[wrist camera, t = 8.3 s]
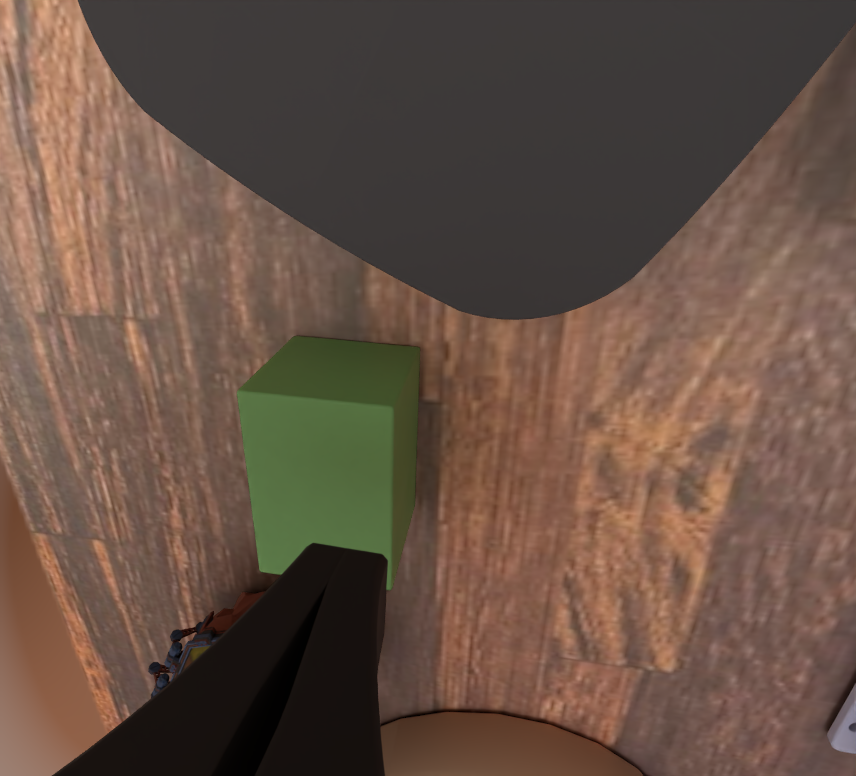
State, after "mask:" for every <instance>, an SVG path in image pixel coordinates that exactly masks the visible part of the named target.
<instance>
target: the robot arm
mask: <svg viewBox="0 0 856 776" xmlns="http://www.w3.org/2000/svg"><path fill="white" fill-rule="evenodd" d="M387 571H388V560H387V559H386V558H385V556H384V555H383V554H380V553H374V552H368V551H362V550H355V549H349V548H343V547H337V546H331V545H325V544H319V543H311V544H310V545H308V546H307V547H306V548H305V549H304V550H303V551H302V552H301V554H300V555H299V556H298V557H297V558H296V559H295V560H294V561H293V562H292V564H291V565H290V566H289V567H288V568H287V569H286V570H285V571H284V572H283V573H282V575H281V576H280V577H279V578H278V579H277V580H276V581H275V582H274V583H273V584H272V585H271V586H270V587H269V588H268V589H267V590H266V591H265V593H264V594H263V595H262V596H261V597H260V598H259V599H258V600H257V601H256V602H255V603H254V604H253V605H252V606H251V607H250V608H249V609H248V610H247V611H246V612H245V613H244V614H243V615H242V616H241V617H240V618H239V619H238V620H237V621H236V622H235V623H234V624H233V625H232V626H231V627H230V628H229V629H228V630H227V631H226V632H224V633H223V634H222V635H221V636H220V637H219V638H218V639H217V640H216V641H215V642H214V643H213V644H212V645H211V646H210V647H209V648H208V649H207V650H205V651H204V652H203V653H202V654H201V655H200V656H199V657H198V658H197V659H195V660H194V661H193V662H192V663H191V664H190V665H189V666H188V667H187V668H185V669H184V670H183V671H182V672H181V673H180V674H179V675H178V676H177V677H175V678H174V679H173V680H172V681H171V682H170V683H169V684H168V685H167V686H165V687H164V688H163V689H162V690H161V691H160V692H158V693H157V694H156V695H155V696H154V697H152V698H151V699H150V700H149V701H148V702H146V703H145V704H144V705H143V706H142V707H141V708H139V709H138V710H137V711H136V712H134V713H133V714H132V715H131V716H130V717H128V718H127V719H126V720H125V721H123V722H122V723H121V724H120V725H118V726H117V727H116V728H114V729H113V730H112V731H111V732H109V733H108V734H107V735H106V736H104V737H103V738H102V739H101V740H99V741H98V742H97V743H95V744H94V745H93V746H91V747H90V748H89V749H88V750H86V751H85V752H84V753H82V754H81V755H80V756H78V757H77V758H75V759H74V760H73V761H72V762H70V763H69V764H67V765H66V766H65V767H63V768H62V769H60V770H59V771H58V772H57V773H55V774H54V775H52V776H385V771H384V761H383V751H382V741H381V729H380V716H379V702H378V682H377V673H378V665H379V659H380V653H381V648H382V642H383V637H384V625H385V607H386V589H387ZM827 737H828V739H829V741H830V743H831V745H832V747H833V748H834V749H836V750H838V751H842V752H847V753H853V754H856V683H855V685H854V687H853V689H852V691H851V692H850V694H849V696H848V698H847V699H846V701H845V703H844V705H843V706H842V708H841V710H840V712H839V713H838V715H837V717H836V719H835V720H834V722H833V724H832V726H831V728H830V729H829V731H828V733H827Z"/></svg>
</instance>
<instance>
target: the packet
mask: <svg viewBox="0 0 856 776" xmlns="http://www.w3.org/2000/svg"><path fill="white" fill-rule="evenodd" d="M419 368H420V348H419V347H412V346H401V345H390V344H379V343H368V342H357V341H346V340H335V339H324V338H313V337H302V336H294V337H292V338H291V339H290V340H289V341H288V342H287V343H286V344H285V345H284V346H283V347H282V348H281V349H280V350H279V351H278V352H277V353H276V354H275V355H274V356H273V357H272V358H271V359H270V360H269V361H268V362H267V363H266V364H264V365H263V366H262V367H261V368H260V369H259V370H258V371H257V372H256V373H255V374H254V375H253V376H252V377H251V378H250V379H249V380H248V381H247V382H246V383H245V384H244V385H243V386H242V387H241V388H240V389H239V390H238V391H237V398H238V406H239V413H240V421H241V429H242V437H243V445H244V453H245V460H246V468H247V476H248V484H249V492H250V500H251V507H252V515H253V523H254V531H255V539H256V547H257V554H258V562H259V570H260V571H261V572H264V573H271V574H278V575H282V573H283V572H284V571H285V570H286V569H287V568H288V567H289V566H290V565H291V564H292V562H293V561H294V560H295V559H296V558H297V557H298V556H299V555H300V554H301V552H302V551H303V550H304V549H305V548H306V547H307V546H308V545H310V544H311V543H319V544H325V545H331V546H337V547H343V548H349V549H355V550H362V551H368V552H374V553H380V554H383V555H384V556H385V558H386V559H387V560H388V571H387V589H386V590H391V589H392V588H393V584H394V580H395V576H396V573H397V569H398V565H399V562H400V558H401V554H402V551H403V547H404V543H405V540H406V536H407V532H408V529H409V525H410V521H411V518H412V514H413V510H414V507H415V488H416V458H417V428H418V398H419Z"/></svg>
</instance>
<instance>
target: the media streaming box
mask: <svg viewBox="0 0 856 776" xmlns="http://www.w3.org/2000/svg"><path fill="white" fill-rule="evenodd" d="M78 2H79V5H80V7H81V10H82V13H83V15H84V18H85V20H86V22H87V24H88V27H89V29H90V31H91V33H92V35H93V38H94V39H95V41H96V43H97V45H98V47H99V49H100V51H101V53H102V55H103V56H104V58H105V60H106V61H107V63H108V65H109V66H110V68H111V70H112V71H113V73H114V74H115V75H116V77H117V78H118V80H119V81H120V83H121V84H122V86H123V87H124V88H125V89H126V91H127V92H128V93H129V94H130V96H131V97H132V98H133V99H134V100H135V101H136V103H137V104H138V105H139V106H140V107H141V108H142V109H143V110H144V111H145V112H146V113H147V114H148V115H150V116H151V117H152V118H154V119H155V120H156V121H157V122H159V123H160V124H161V125H162V126H164V127H165V128H166V129H168V130H169V131H170V132H171V133H173V134H174V135H175V136H177V137H178V138H179V139H181V140H182V141H183V142H185V143H186V144H187V145H189V146H190V147H191V148H193V149H194V150H195V151H197V152H198V153H199V154H201V155H202V156H204V157H205V158H206V159H208V160H209V161H210V162H212V163H213V164H214V165H216V166H217V167H219V168H220V169H222V170H223V171H224V172H226V173H227V174H229V175H230V176H231V177H233V178H234V179H236V180H237V181H239V182H240V183H242V184H243V185H244V186H246V187H247V188H249V189H250V190H252V191H253V192H255V193H256V194H258V195H259V196H261V197H262V198H264V199H265V200H267V201H268V202H270V203H271V204H273V205H274V206H276V207H277V208H279V209H280V210H282V211H283V212H285V213H287V214H288V215H290V216H291V217H293V218H294V219H296V220H298V221H299V222H301V223H302V224H304V225H305V226H307V227H309V228H310V229H312V230H314V231H315V232H317V233H318V234H320V235H322V236H323V237H325V238H327V239H328V240H330V241H332V242H333V243H335V244H337V245H338V246H340V247H342V248H343V249H345V250H347V251H349V252H350V253H352V254H354V255H355V256H357V257H359V258H361V259H362V260H364V261H366V262H367V263H369V264H371V265H373V266H375V267H376V268H378V269H380V270H382V271H384V272H385V273H387V274H389V275H391V276H393V277H395V278H396V279H398V280H400V281H402V282H404V283H406V284H408V285H410V286H411V287H413V288H415V289H417V290H419V291H421V292H423V293H425V294H427V295H429V296H431V297H433V298H435V299H437V300H439V301H441V302H443V303H445V304H447V305H449V306H451V307H453V308H455V309H457V310H459V311H462V312H465V313H469V314H472V315H477V316H482V317H487V318H496V319H513V320H519V319H534V318H541V317H548V316H552V315H556V314H561V313H564V312H567V311H571V310H574V309H577V308H579V307H582V306H584V305H587V304H589V303H592V302H594V301H596V300H598V299H600V298H602V297H604V296H606V295H607V294H609V293H611V292H612V291H614V290H616V289H617V288H619V287H621V286H622V285H623V284H625V283H626V282H627V281H629V280H630V279H632V278H633V277H634V276H635V275H636V274H637V273H638V272H639V271H640V270H641V269H642V268H643V267H644V266H645V265H646V264H647V263H648V262H649V261H650V260H651V259H652V258H653V257H654V256H655V255H656V254H657V253H658V252H659V251H660V250H661V249H662V248H663V247H664V246H665V245H666V243H667V242H668V241H669V240H670V239H671V238H672V237H673V236H674V235H675V234H676V233H677V232H678V231H679V230H680V229H681V228H682V227H683V226H684V224H685V223H686V222H687V221H688V220H689V219H690V218H691V217H692V216H693V215H694V214H695V213H696V212H697V211H698V209H699V208H700V207H701V206H702V205H703V204H704V203H705V202H706V201H707V200H708V198H709V197H710V196H711V195H712V194H713V193H714V192H715V191H716V190H717V188H718V187H719V186H720V185H721V184H722V183H723V182H724V181H725V180H726V178H727V177H728V176H729V175H730V174H731V173H732V172H733V170H734V169H735V168H736V167H737V166H738V165H739V164H740V162H741V161H742V160H743V159H744V158H745V157H746V156H747V155H748V153H749V152H750V151H751V150H752V149H753V148H754V146H755V145H756V144H757V143H758V142H759V141H760V139H761V138H762V137H763V136H764V135H765V133H766V132H767V131H768V130H769V129H770V128H771V126H772V125H773V124H774V123H775V122H776V121H777V119H778V118H779V117H780V116H781V115H782V113H783V112H784V111H785V110H786V108H787V107H788V106H789V105H790V104H791V102H792V101H793V100H794V99H795V98H796V96H797V95H798V94H799V93H800V92H801V90H802V89H803V88H804V87H805V85H806V84H807V83H808V82H809V80H810V79H811V78H812V77H813V76H814V74H815V73H816V72H817V71H818V69H819V68H820V67H821V66H822V64H823V63H824V62H825V61H826V59H827V58H828V57H829V56H830V54H831V53H832V52H833V51H834V49H835V48H836V47H837V46H838V44H839V43H840V42H841V41H842V39H843V38H844V37H845V35H846V34H847V33H848V32H849V30H850V29H851V28H852V26H853V25H854V24H855V22H856V0H78Z"/></svg>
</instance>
